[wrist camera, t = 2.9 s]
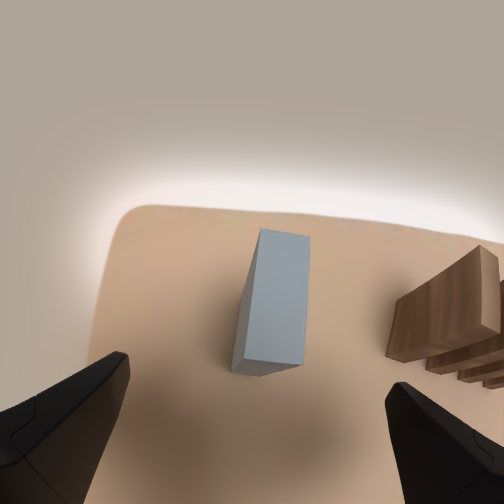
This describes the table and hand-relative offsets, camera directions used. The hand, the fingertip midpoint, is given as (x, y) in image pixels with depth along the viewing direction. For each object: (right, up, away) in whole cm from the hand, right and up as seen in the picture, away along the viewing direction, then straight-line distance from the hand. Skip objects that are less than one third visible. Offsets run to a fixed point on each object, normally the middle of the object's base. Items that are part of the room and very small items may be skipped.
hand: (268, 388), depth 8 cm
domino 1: (-1, -2, +11) cm, 11 cm away
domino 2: (+12, -2, +12) cm, 17 cm away
